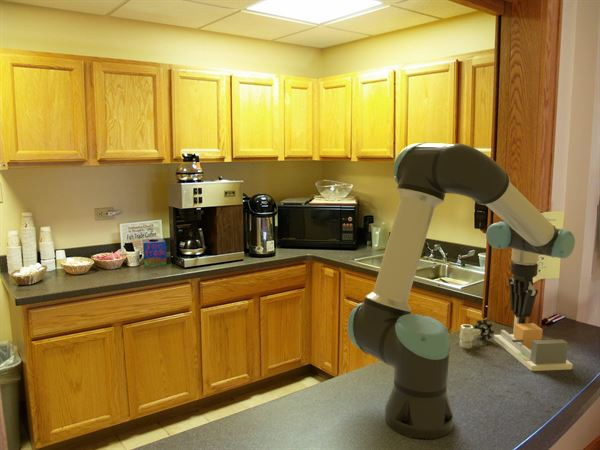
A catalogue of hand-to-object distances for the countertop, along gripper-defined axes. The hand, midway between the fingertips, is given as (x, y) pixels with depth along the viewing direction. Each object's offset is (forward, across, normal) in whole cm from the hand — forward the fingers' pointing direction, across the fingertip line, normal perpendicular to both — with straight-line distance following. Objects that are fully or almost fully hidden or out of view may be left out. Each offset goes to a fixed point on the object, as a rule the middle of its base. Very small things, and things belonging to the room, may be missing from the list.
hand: (518, 335), depth 156 cm
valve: (+3, +2, +14) cm, 14 cm away
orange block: (+1, -5, 0) cm, 5 cm away
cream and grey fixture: (+3, -7, 0) cm, 7 cm away
